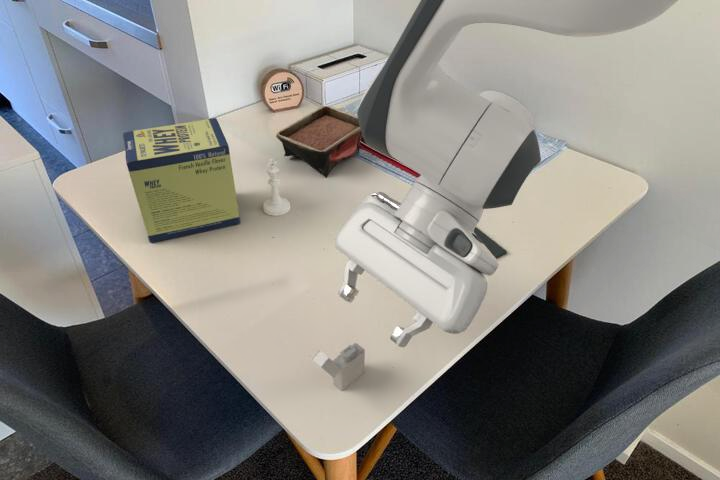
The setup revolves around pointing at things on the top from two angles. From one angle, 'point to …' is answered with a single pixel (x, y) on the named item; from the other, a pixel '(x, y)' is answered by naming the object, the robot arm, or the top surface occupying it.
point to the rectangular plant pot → (322, 138)
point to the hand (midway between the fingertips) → (369, 320)
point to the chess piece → (275, 194)
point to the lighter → (343, 365)
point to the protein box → (182, 178)
